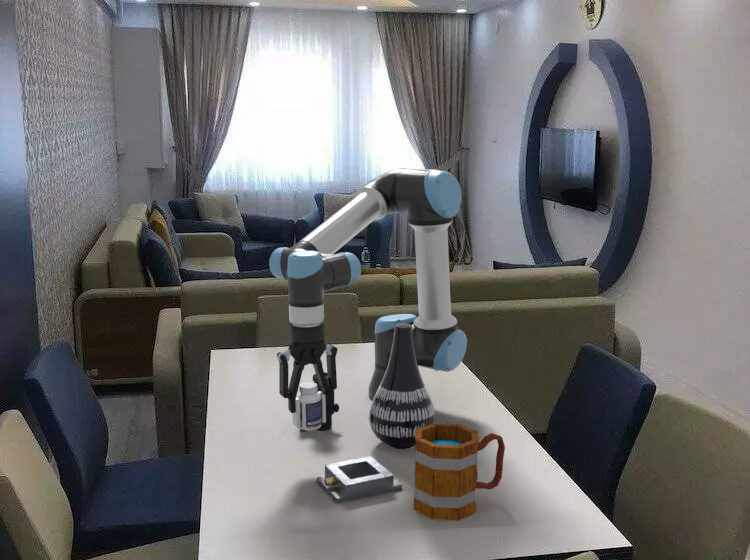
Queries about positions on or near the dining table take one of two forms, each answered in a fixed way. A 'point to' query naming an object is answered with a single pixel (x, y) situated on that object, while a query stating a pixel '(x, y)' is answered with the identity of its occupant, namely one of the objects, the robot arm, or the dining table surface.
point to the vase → (401, 396)
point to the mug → (450, 470)
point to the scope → (329, 410)
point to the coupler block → (357, 479)
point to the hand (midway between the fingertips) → (309, 422)
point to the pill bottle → (309, 406)
